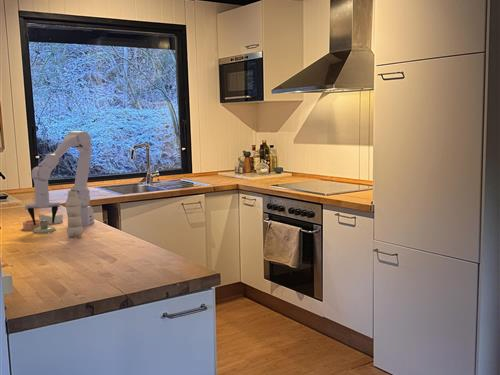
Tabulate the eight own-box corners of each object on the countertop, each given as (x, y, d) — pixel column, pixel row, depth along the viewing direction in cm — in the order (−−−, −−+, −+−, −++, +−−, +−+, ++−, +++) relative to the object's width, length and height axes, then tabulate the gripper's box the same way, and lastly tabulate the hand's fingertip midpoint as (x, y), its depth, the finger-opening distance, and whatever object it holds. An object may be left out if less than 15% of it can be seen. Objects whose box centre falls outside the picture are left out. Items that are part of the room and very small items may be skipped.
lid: (59, 229, 238) (58, 218, 237) (48, 233, 229) (47, 222, 228) (41, 228, 239) (40, 218, 239) (29, 232, 231) (28, 222, 230)
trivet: (61, 229, 238) (60, 228, 238) (48, 235, 228) (48, 233, 228) (41, 229, 240) (41, 228, 240) (27, 234, 230) (27, 233, 230)
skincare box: (49, 211, 260) (62, 214, 252) (50, 219, 261) (63, 223, 253) (38, 213, 255) (51, 216, 248) (38, 222, 256) (51, 225, 248)
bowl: (46, 227, 244) (45, 219, 243) (35, 231, 236) (35, 223, 236) (30, 226, 245) (30, 219, 245) (20, 230, 238) (19, 223, 237)
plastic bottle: (85, 235, 227) (82, 189, 224) (80, 238, 220) (77, 191, 218) (70, 235, 227) (67, 189, 224) (65, 239, 220) (62, 192, 217)
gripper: (58, 191, 238) (60, 220, 240) (24, 193, 232) (26, 223, 234) (59, 193, 232) (61, 223, 234) (24, 196, 226) (26, 226, 228)
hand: (44, 224), depth 234 cm, fingers open, 7 cm apart
